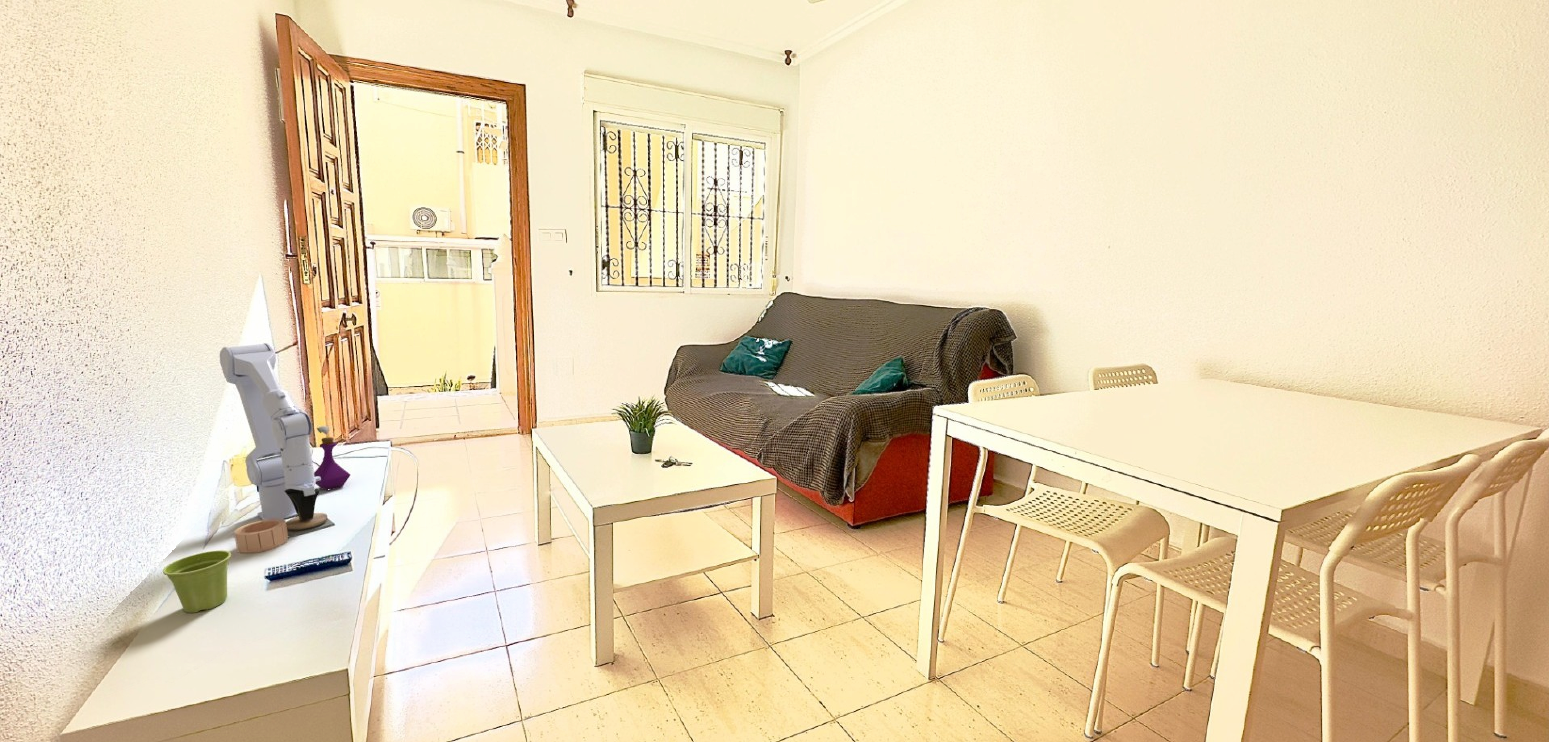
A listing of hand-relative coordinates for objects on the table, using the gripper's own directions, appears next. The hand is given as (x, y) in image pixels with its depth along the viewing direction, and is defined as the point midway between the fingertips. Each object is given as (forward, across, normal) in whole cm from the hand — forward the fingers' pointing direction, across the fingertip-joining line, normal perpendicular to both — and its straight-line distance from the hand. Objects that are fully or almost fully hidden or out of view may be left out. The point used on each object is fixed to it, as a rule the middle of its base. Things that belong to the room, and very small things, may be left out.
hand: (305, 517), depth 155 cm
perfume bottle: (+3, +29, -13) cm, 32 cm away
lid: (+1, 0, 0) cm, 1 cm away
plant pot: (+2, -30, +23) cm, 38 cm away
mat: (+2, 0, 0) cm, 2 cm away
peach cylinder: (+2, -5, +10) cm, 11 cm away
